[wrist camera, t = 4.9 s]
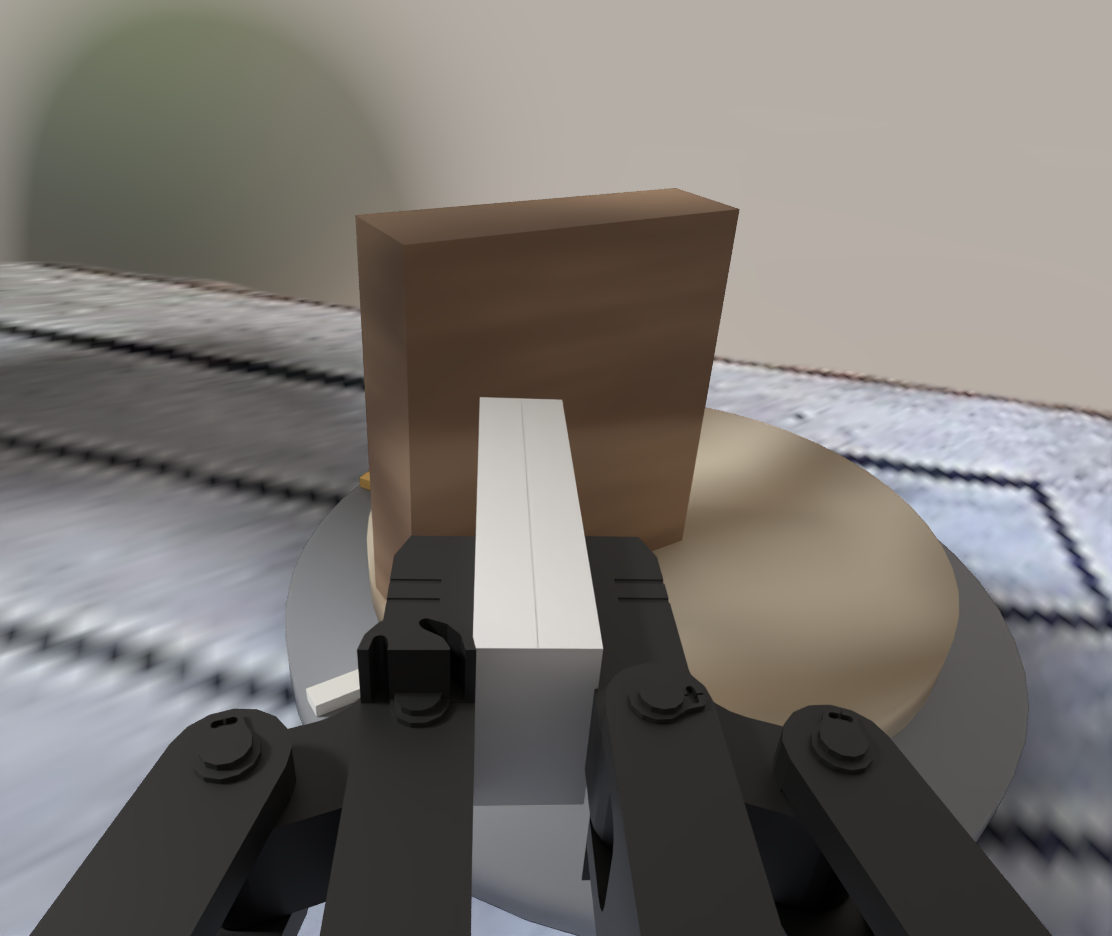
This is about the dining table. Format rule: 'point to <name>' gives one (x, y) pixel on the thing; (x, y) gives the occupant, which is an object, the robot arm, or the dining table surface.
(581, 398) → the dial
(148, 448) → the dining table surface
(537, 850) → the base
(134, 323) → the dining table surface
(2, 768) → the dining table surface
